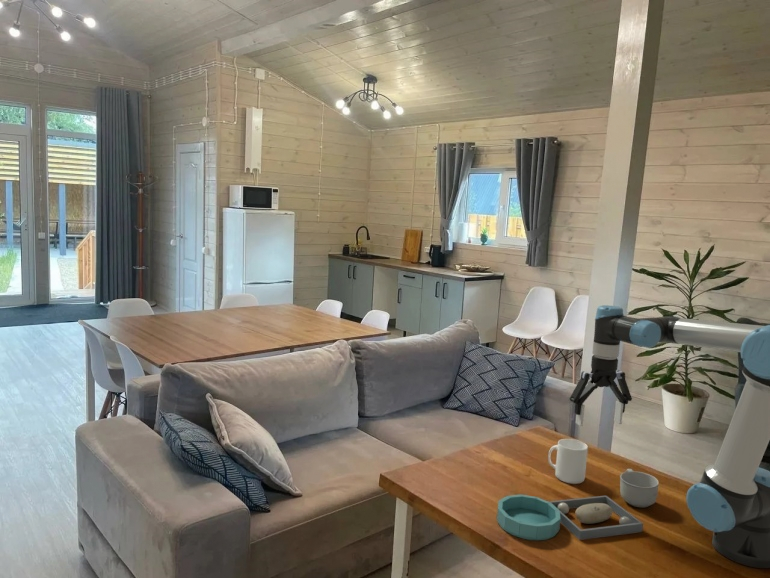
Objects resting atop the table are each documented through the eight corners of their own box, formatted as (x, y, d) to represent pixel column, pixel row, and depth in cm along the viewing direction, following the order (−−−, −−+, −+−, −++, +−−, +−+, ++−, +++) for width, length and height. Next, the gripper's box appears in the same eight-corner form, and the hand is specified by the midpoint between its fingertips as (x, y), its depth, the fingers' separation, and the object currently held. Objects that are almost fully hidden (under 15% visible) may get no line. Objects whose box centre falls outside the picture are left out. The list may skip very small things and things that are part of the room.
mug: (586, 486, 189) (589, 452, 188) (547, 480, 192) (550, 446, 190) (583, 473, 198) (586, 440, 197) (546, 468, 201) (549, 436, 199)
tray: (642, 531, 163) (643, 523, 163) (579, 540, 158) (580, 531, 157) (605, 503, 179) (606, 495, 178) (546, 509, 173) (547, 501, 173)
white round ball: (570, 515, 170) (571, 505, 170) (561, 516, 169) (562, 506, 169) (564, 510, 173) (565, 500, 173) (554, 511, 172) (555, 501, 172)
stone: (620, 513, 168) (595, 511, 161) (607, 529, 170) (582, 528, 163) (605, 498, 173) (580, 495, 166) (593, 514, 174) (568, 512, 168)
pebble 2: (633, 530, 164) (634, 519, 164) (623, 531, 163) (624, 520, 163) (625, 524, 167) (626, 513, 167) (616, 525, 166) (617, 514, 166)
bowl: (570, 537, 159) (572, 522, 158) (515, 544, 154) (516, 528, 153) (538, 506, 175) (539, 492, 174) (486, 511, 170) (487, 497, 169)
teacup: (659, 514, 174) (663, 488, 173) (621, 508, 176) (624, 483, 175) (648, 492, 187) (651, 468, 186) (613, 487, 190) (615, 464, 188)
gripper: (632, 352, 185) (625, 417, 188) (561, 354, 179) (555, 421, 182) (648, 358, 178) (641, 426, 181) (575, 360, 172) (569, 429, 175)
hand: (598, 423), depth 181 cm, fingers open, 13 cm apart
